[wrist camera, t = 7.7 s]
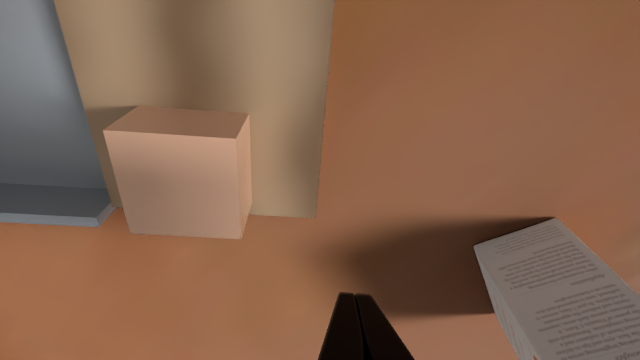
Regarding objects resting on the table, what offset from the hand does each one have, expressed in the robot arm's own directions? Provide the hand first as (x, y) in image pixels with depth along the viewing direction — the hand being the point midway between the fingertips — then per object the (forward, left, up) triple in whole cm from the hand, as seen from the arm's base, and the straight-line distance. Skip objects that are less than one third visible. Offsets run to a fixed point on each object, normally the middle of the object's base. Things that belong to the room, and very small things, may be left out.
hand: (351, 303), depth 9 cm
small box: (-14, +9, -11) cm, 20 cm away
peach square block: (+7, +1, -9) cm, 11 cm away
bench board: (+6, -3, -11) cm, 13 cm away
